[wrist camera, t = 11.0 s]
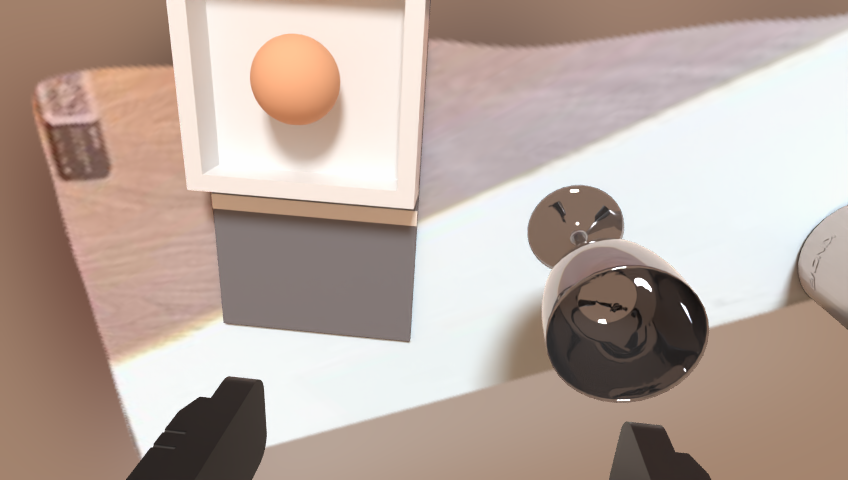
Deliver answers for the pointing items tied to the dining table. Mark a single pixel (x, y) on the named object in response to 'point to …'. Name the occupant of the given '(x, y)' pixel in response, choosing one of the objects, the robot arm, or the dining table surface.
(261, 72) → the ball
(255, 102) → the tray
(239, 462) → the robot arm
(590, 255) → the wine glass
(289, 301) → the mat
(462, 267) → the dining table surface
